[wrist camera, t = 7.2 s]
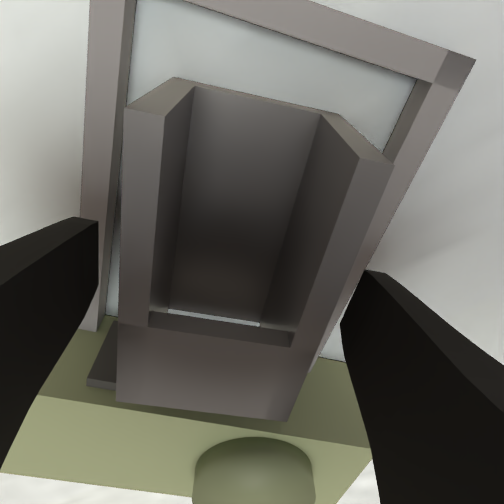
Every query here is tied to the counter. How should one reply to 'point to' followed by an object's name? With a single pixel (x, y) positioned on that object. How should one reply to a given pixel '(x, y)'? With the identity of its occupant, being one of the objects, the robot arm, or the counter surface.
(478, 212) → the counter surface
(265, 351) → the chute
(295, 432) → the grey frame stand
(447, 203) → the counter surface
